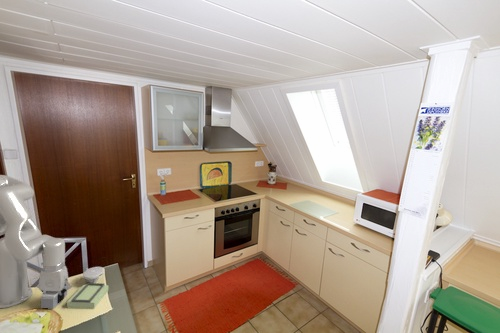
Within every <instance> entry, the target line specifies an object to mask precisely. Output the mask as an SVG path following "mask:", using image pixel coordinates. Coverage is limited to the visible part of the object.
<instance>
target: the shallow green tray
mask: <svg viewBox="0 0 500 333" xmlns="http://www.w3.org/2000/svg"><path fill="white" fill-rule="evenodd" d="M108 292H109V285H107V284H105V283H103V282H101V283H98V282H96V283H91V282H88V283H87V284H83V285H82V286H81V287H80V288H79V289H78V290H77V291H76V292H75V294H73V295H72V296H71V297H70V298H69V299H68V300H67V301H66V308H67V309H95V308H96V307H97V306H98V305H99V303H100V302H101V300H102V299H103V298H104V297H105V296H106V294H107V293H108ZM104 295H105V296H104Z"/></svg>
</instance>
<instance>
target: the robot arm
mask: <svg viewBox="0 0 500 333" xmlns="http://www.w3.org/2000/svg"><path fill="white" fill-rule="evenodd" d="M34 195H35V191H34V189H33V187H32V186H31V185H30V184H28V183H27V182H24V181H22V180H20V179H19V180H18V179H16V178H13V177H11V176H9V175H5V174H0V236H2V235H3V237H1V238H0V309H5V308H6V309H7V308H11V307H15V306H17V305H20V304H21V303H23V302H26V300H28V299H29V298H31V297H32V295H33V293H34V290H33V288H31V287H29V282H28V280H29V278H28V261H30V260H32V259H34V258H36V257H37V256H39V255H41V254H42V262H41V263H40V264H41V266H43V268H42V269H41V270H40V274H39V278H38V284H37V285H36V286H35V287H36V288H37V289H38V290H39V291H40V292H41V293H42V295H44V294H45V293H46V292H47V291H58V293H59V295H58V303H59V304H60V303H62V301H63V300H64V299H65V297H64V293H65V292H66V291H67V292H68V291H69V290H70V289H72V287H73V286H72V285H71V284H70V282H69V272H68V268H67V266H66V242H65V240H64V239H63V238H60V237H53V236H51V235H48V234H42V232H41V231H40V229H39V227H38V226H37V225H36V223H35V222H34V221H33V219H32V217H33V213H32V211H31V210H30V208H29V206H28V205H27V203H26V202H25V201H29V200H31V199H33V197H34ZM65 287H66V288H65ZM61 290H62V291H61Z"/></svg>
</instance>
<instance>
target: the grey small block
mask: <svg viewBox="0 0 500 333" xmlns="http://www.w3.org/2000/svg"><path fill="white" fill-rule="evenodd" d="M65 288H66V287H65ZM61 291H62V290H61ZM58 295H59V293H58V291H47V292H46V293H45V294H44V295H43V294H42V296H41V298H40V299H41V300H40V302H41V303H40V306H41V308H40V309H42V308H48V309H49V310H53V309H55V308H56V307H57V306H58V305H59V304H60V303H58ZM66 296H68V290H67V291H66V292H65V293H64V298H66Z"/></svg>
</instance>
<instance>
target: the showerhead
mask: <svg viewBox="0 0 500 333" xmlns="http://www.w3.org/2000/svg"><path fill="white" fill-rule="evenodd" d="M104 274H105V269H104V267H102V266H93V267H90V268H86V267H85V271H83V273H82V278H83V279H84V280H87V281H88V283H97V281H98V280H100V277H102V276H103V275H104Z"/></svg>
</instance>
